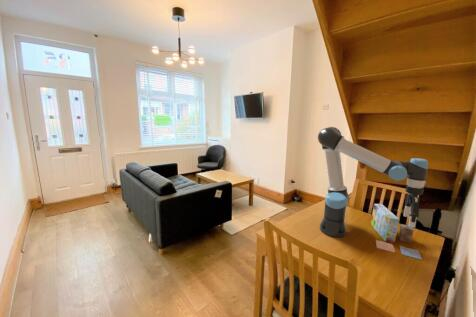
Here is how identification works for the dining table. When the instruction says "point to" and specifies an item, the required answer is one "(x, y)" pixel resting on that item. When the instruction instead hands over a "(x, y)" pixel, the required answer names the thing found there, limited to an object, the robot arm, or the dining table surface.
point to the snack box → (385, 223)
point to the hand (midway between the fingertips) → (408, 221)
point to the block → (406, 233)
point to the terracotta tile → (385, 246)
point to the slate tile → (410, 252)
